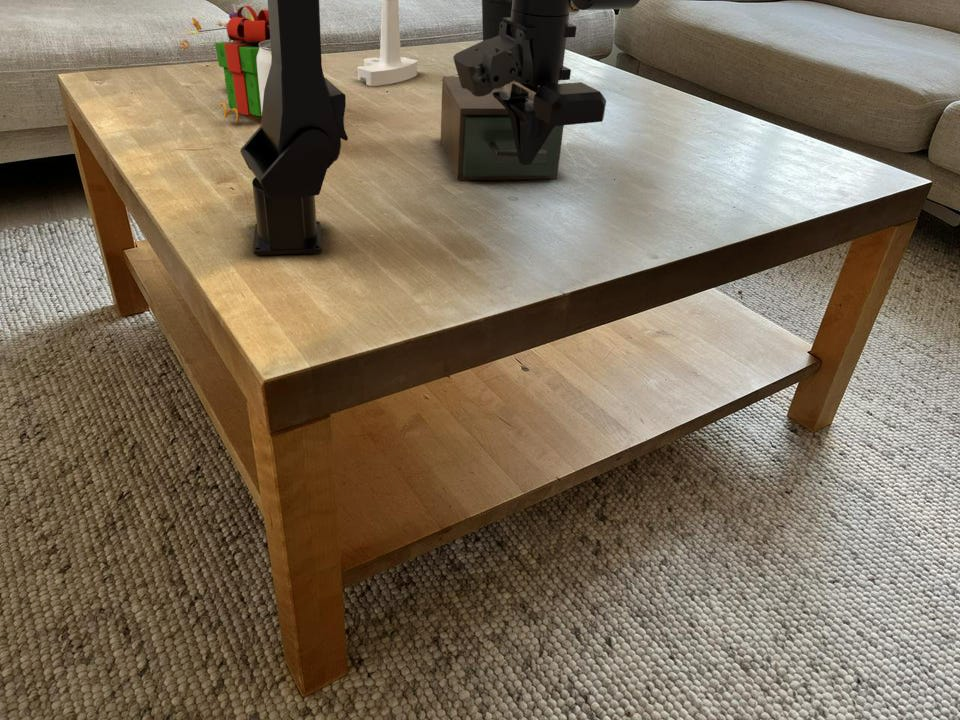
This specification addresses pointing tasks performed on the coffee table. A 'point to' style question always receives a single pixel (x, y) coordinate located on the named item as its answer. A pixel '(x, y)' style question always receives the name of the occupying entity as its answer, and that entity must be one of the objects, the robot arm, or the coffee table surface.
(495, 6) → the drinking cup
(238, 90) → the gift wrap
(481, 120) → the drawer
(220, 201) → the coffee table surface
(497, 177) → the cabinet
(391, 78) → the white post stand
